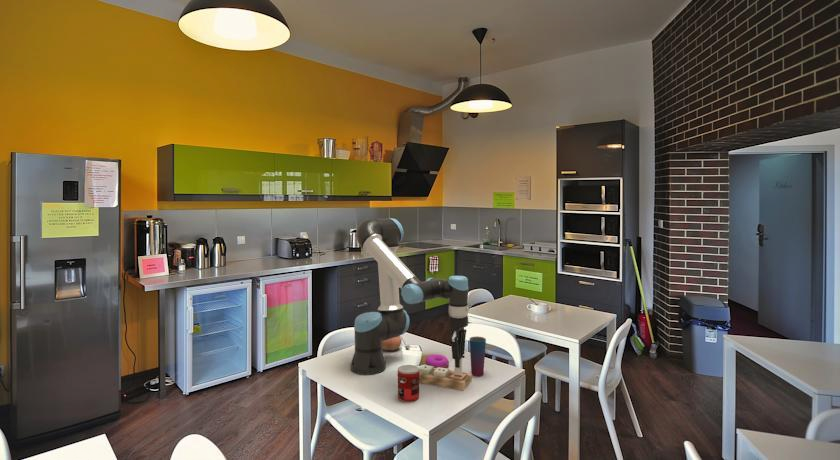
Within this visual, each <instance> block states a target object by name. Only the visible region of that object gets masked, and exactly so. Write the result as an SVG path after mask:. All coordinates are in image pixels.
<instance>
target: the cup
mask: <svg viewBox="0 0 840 460" xmlns="http://www.w3.org/2000/svg"><path fill="white" fill-rule="evenodd" d="M486 343H487V339H486V338H485V337H483V336H477V335H476V336H470V337H469V353H470V355H469V356H470V370H471V371H470V372H471V373H470V374H472V377H473V376H474V377H482V376H484V373H485V371H484V370H485V358H486V346H487V345H486Z"/></svg>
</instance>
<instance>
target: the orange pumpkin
mask: <svg viewBox="0 0 840 460" xmlns="http://www.w3.org/2000/svg"><path fill="white" fill-rule="evenodd" d="M401 345H402V338H401V335H400V336H398V337H394V338H391V339H387V340H384V341H382V350H383V349H384V350H385V351H389V350H391V351H395V350H397V349H399V348H401V347H400V346H401Z"/></svg>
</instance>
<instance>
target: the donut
mask: <svg viewBox="0 0 840 460" xmlns="http://www.w3.org/2000/svg"><path fill="white" fill-rule="evenodd" d="M449 364H450V361H449V359H448V358H447V357H446V356H445V355H442V354H436V353H435V354H430V355H428V356H426V358H425V365H428V366H434V368H438V367H441V368H447V367H448V365H449Z"/></svg>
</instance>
